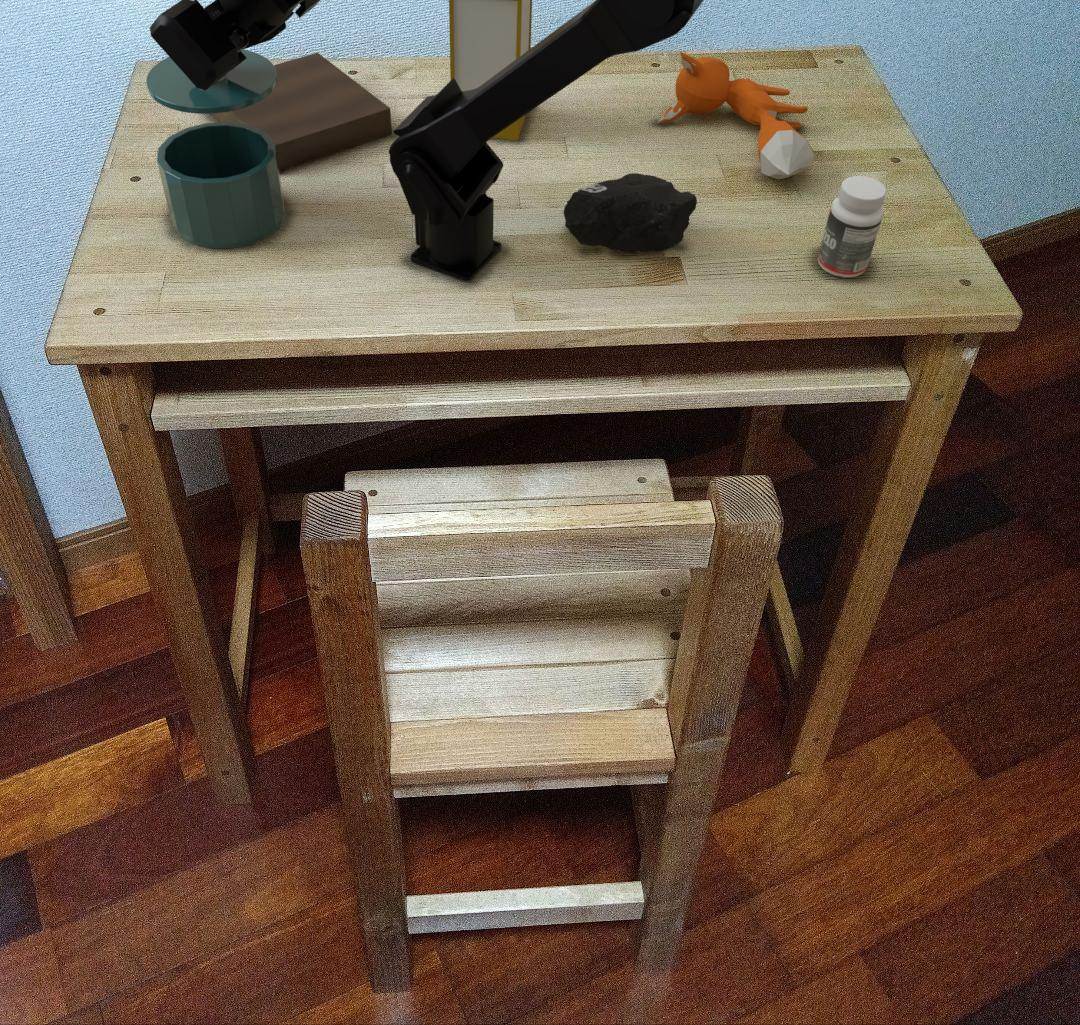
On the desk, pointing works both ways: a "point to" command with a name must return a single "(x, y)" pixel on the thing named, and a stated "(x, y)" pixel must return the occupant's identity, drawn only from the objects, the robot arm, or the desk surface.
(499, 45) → the white and yellow box
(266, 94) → the lid
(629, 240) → the rock
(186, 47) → the robot arm
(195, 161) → the jar
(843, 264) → the pill bottle
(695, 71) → the toy
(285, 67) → the board
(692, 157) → the desk surface
